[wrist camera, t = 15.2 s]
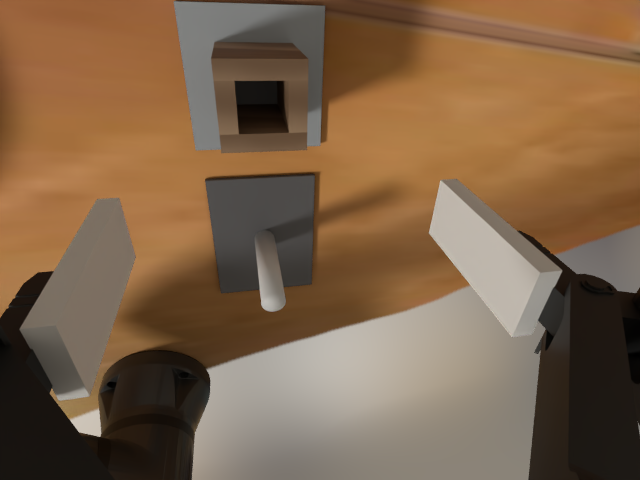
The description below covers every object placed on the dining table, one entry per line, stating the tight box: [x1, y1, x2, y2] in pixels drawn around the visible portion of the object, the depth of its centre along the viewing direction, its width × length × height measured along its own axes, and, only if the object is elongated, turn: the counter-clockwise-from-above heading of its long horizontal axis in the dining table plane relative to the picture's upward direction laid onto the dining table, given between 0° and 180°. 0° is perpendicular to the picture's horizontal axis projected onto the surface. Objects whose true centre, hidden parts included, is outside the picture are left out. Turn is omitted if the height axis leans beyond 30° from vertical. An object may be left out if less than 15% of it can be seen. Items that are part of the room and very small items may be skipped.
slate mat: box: [174, 1, 325, 150], centre depth 38 cm, size 13×13×1 cm
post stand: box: [205, 174, 315, 312], centre depth 43 cm, size 16×12×12 cm
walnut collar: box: [211, 42, 309, 153], centre depth 34 cm, size 7×7×9 cm
